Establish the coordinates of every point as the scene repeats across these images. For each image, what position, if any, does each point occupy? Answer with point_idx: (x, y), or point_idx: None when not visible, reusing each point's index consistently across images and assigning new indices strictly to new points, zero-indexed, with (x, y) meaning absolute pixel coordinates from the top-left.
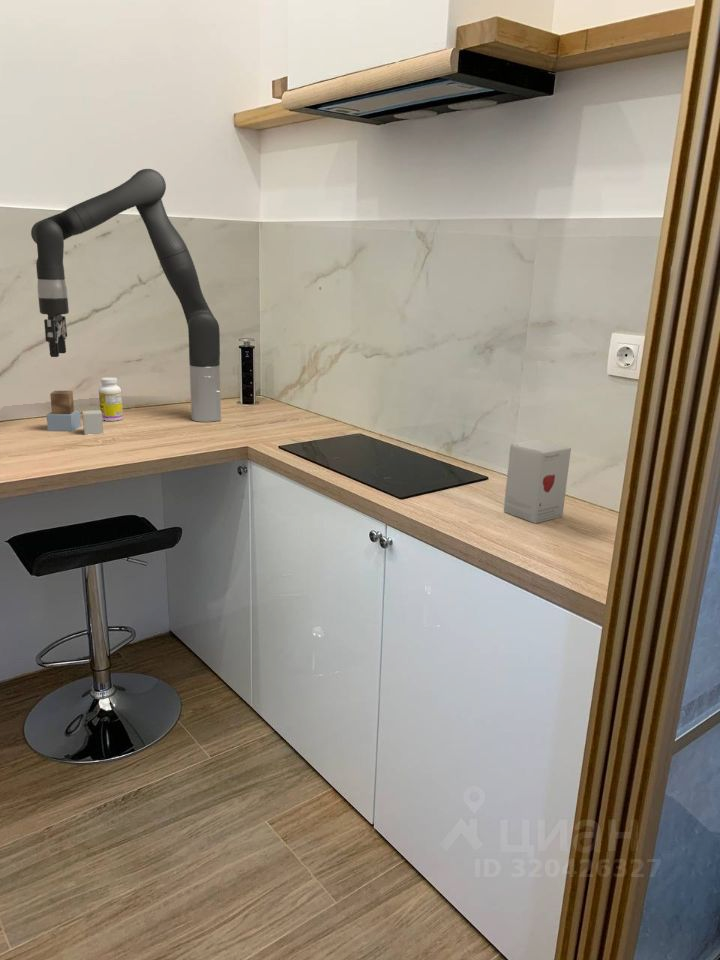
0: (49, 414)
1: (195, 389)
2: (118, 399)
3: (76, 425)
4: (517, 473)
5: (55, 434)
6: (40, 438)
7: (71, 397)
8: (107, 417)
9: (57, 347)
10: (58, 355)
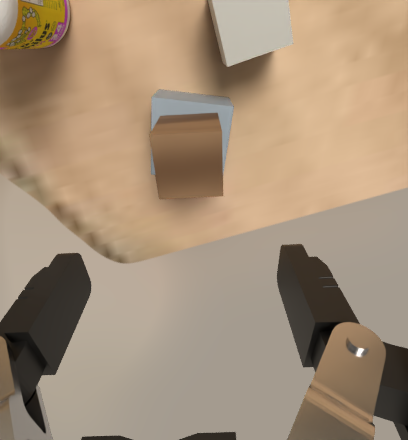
0: None
1: None
2: None
3: (194, 94)
4: None
5: (260, 133)
6: (301, 157)
7: (178, 127)
8: (66, 9)
9: (326, 292)
10: (302, 245)
